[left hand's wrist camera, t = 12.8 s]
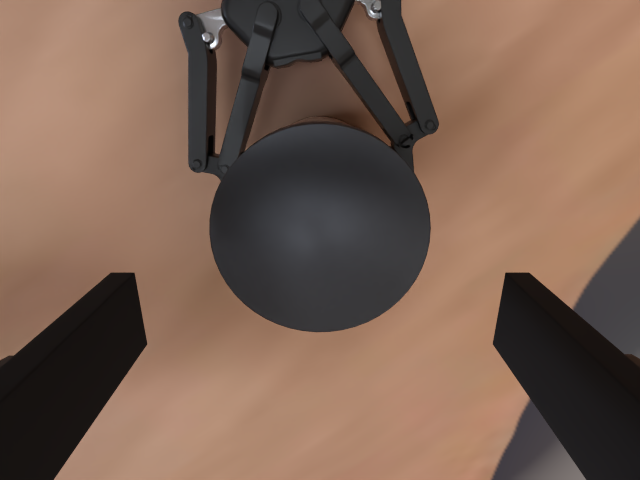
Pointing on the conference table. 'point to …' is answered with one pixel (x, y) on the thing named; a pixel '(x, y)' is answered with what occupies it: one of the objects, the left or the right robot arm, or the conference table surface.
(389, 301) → the lid
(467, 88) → the conference table surface
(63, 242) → the conference table surface
